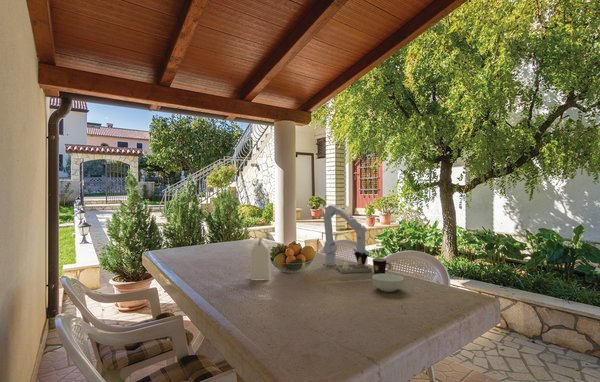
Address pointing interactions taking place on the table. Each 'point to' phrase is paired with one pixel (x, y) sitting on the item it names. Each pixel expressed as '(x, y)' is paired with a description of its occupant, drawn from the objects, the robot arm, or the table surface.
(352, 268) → the egg carton
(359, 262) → the brown egg
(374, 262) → the coffee mug
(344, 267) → the cream egg
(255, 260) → the milk
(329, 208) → the robot arm
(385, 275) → the cereal bowl
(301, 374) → the table surface
